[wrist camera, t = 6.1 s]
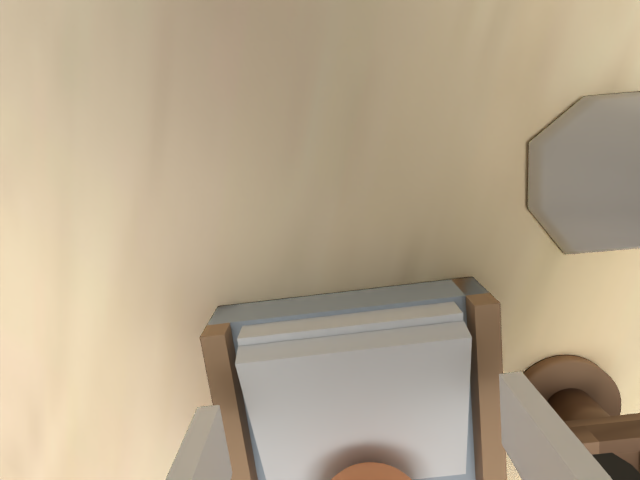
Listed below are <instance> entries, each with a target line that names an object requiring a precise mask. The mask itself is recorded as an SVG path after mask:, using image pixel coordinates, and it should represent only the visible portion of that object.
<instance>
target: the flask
mask: <svg viewBox="0 0 640 480" xmlns="http://www.w3.org/2000/svg"><path fill="white" fill-rule="evenodd" d="M528 209H529V210H530V211H531V213H532V214H533V215H534V216H535V218H536V219H537V220H538V221H539V223H540V224H541V225H542V226H543V228H544V229H545V230H546V231H547V233H548V234H549V235H550V236H551V238H552V239H553V240H554V241H555V243H556V244H557V245H558V246H559V248H560V249H561V250H562V251H563V253H564V254H575V253H587V252H600V251H612V250H625V249H637V248H640V91H639V92H627V93H616V94H604V95H593V96H584V97H583V98H581V99H580V100H579V101H578V102H577V103H575V104H574V105H573V106H572V107H571V108H569V109H568V110H567V111H566V112H565V113H563V114H562V115H561V116H560V117H559V118H557V119H556V120H555V121H554V122H553V123H551V124H550V125H549V126H548V127H547V128H545V129H544V130H543V131H542V132H541V133H539V134H538V135H537V136H536V137H535V138H533V139H532V140H531V141H530V142H529V163H528Z"/></svg>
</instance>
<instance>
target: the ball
mask: <svg viewBox="0 0 640 480" xmlns="http://www.w3.org/2000/svg"><path fill="white" fill-rule="evenodd" d="M331 480H412V479H411V478H410V477H409V476H407V475H406V474H405V473H403V472H402V471H400V470H399V469H397V468H395V467H392V466H390V465H387V464H383V463H377V462H364V463H358V464H355V465H352V466H350V467H347V468H345V469H344V470H342V471H341V472H339V473H338V474H337V475H335V476H334V477H333V478H332V479H331Z"/></svg>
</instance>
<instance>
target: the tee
mask: <svg viewBox="0 0 640 480" xmlns="http://www.w3.org/2000/svg"><path fill="white" fill-rule="evenodd" d="M523 374H524V375H525V376H526V377H527V378H528V380H529V381H530V382H531V383H532V384H533V386H534V387H535V388H536V389H537V390H538V392H539V393H540V394H541V395H542V396H543V397H544V399H545V400H546V401H547V402H548V403H549V405H550V406H551V407H552V408H553V409H554V411H555V412H556V413H557V414H558V415H559V416H560V418H561V419H562V420H563V421H564V422H565V424H566V425H567V426H568V427H569V428H570V430H571V431H572V432H573V433H574V434H575V435H576V437H577V438H578V439H579V440H580V441H581V443H582V444H583V445H584V446H585V447H586V449H587V450H588V451H589V452H590V453H591V454H592V455H593V454H603V453H614V454H615V455H617V456H618V457H620V458H622V459H623V460H625V461H627V462H628V463H630V464H631V465H633V467H634V468H635V469H636V470H637V471H638V472H639V473H640V413H637V414H627V415H620V412H621V397H620V393H619V390H618V387H617V386H616V384H615V382H614V381H613V380H612V378H611V377H610V376H609V375H608V374H606V373H605V372H604V371H603V370H602V369H601V368H599V367H598V366H597V365H596V364H594V363H593V362H591V361H589V360H587V359H585V358H582V357H578V356H572V355H560V356H554V357H550V358H547V359H544V360H542V361H540V362H538V363H536V364H534V365H533V366H531V367H530V368H529V369H528V370H526V371H525V372H524V373H523Z"/></svg>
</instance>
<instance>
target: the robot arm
mask: <svg viewBox="0 0 640 480" xmlns="http://www.w3.org/2000/svg"><path fill="white" fill-rule="evenodd" d="M499 387H500V412H501V437H502V445H503V447H504V449H505V451H506V452H507V454H508V456H509V458H510V459H511V461H512V463H513V464H514V466H515V468H516V470H517V471H518V473H519V475H520V476H521V478H522V480H640V473H639V472H638V471H637V470H636V469H635V468H634V467H633V465H631V464H630V463H628V462H627V461H625V460H623V459H622V458H620V457H618V456H617V455H615V454H614V453H603V454H593V455H592V454H591V453H590V452H589V451H588V450H587V449H586V447H585V446H584V445H583V444H582V443H581V441H580V440H579V439H578V438H577V437H576V435H575V434H574V433H573V432H572V431H571V430H570V428H569V427H568V426H567V425H566V424H565V422H564V421H563V420H562V419H561V418H560V416H559V415H558V414H557V413H556V412H555V411H554V409H553V408H552V407H551V406H550V405H549V403H548V402H547V401H546V400H545V399H544V397H543V396H542V395H541V394H540V393H539V392H538V390H537V389H536V388H535V387H534V386H533V384H532V383H531V382H530V381H529V380H528V378H527V377H526V376H525V375H524V374H523V372H522V371H521V372H512V373H503V374H499ZM231 477H232V468H231V463H230V458H229V452H228V447H227V442H226V437H225V431H224V426H223V421H222V416H221V411H220V405H213V406H204V407H197V410H196V412H195V414H194V416H193V419H192V421H191V423H190V425H189V428H188V430H187V432H186V434H185V437H184V439H183V441H182V444H181V446H180V448H179V450H178V453H177V455H176V457H175V459H174V462H173V464H172V466H171V468H170V471H169V473H168V475H167V477H166V480H231Z"/></svg>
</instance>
